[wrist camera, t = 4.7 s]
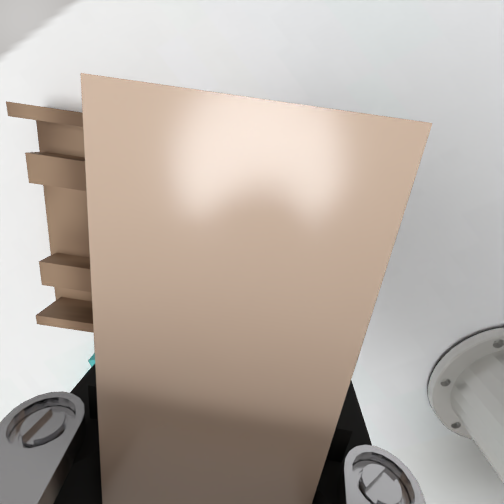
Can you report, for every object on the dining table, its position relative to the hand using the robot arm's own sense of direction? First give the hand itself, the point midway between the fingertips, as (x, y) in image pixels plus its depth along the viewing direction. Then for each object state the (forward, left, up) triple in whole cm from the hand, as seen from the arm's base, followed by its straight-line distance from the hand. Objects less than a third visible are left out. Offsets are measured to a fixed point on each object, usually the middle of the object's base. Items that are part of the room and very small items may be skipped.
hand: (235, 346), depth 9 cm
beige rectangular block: (0, 0, 0) cm, 0 cm away
